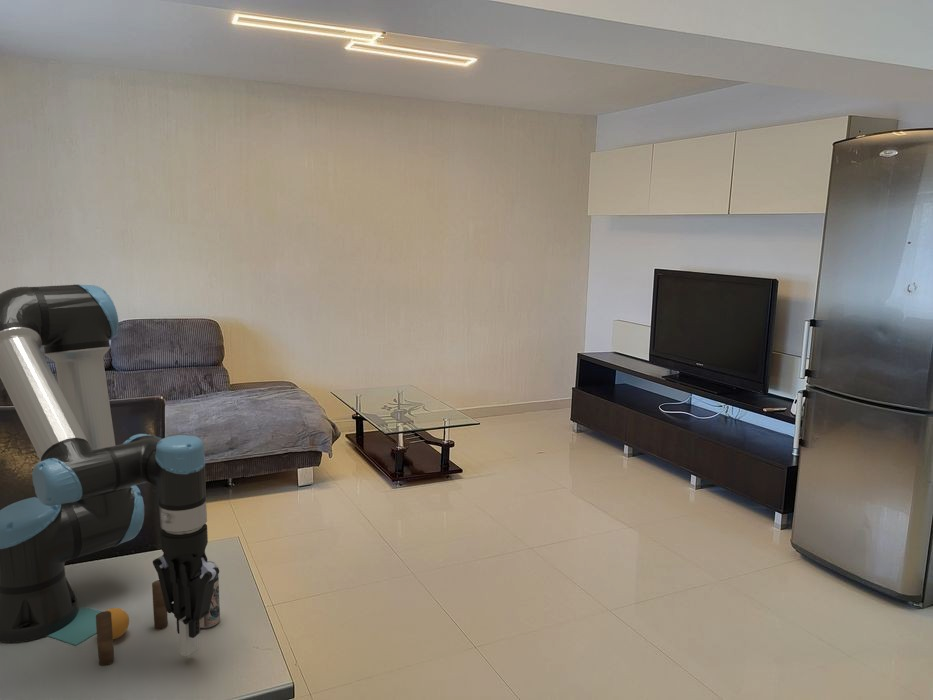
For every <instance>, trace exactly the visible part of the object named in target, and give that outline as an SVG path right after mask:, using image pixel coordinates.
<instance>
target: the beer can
mask: <svg viewBox="0 0 933 700" xmlns="http://www.w3.org/2000/svg"><path fill="white" fill-rule="evenodd" d="M207 563H208V564H209V565H210V566H211V567H212V568H215V567H217V568H218V569H219V566H218V565H217V564H216V562H215V561H211V560H207ZM219 579H220V576H219V574H218V575H217V577H216V578H215V582H214V588H213V593H212V599H211V604H210V610H209V614H208V615H206V616H205V617H203V618H202V619H200V620H199V623H200V626H199V627H200V628H201V629H208V628H212V627H214V626H216V625H217V624H218V623H219V622H220V621H221V611H220V609H221V608H220V586H219V585H220V584H219V583H220V582H219ZM200 581H201V580H200Z"/></svg>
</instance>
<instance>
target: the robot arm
mask: <svg viewBox="0 0 933 700" xmlns="http://www.w3.org/2000/svg"><path fill="white" fill-rule="evenodd" d="M119 322H120V321H119V316H118V312H117V308H116V306H115V304H114V301H113V300H112V297H111V296H110V295H109V294H108V293H107V292H106V290H105V289H103V288H102V287H100V286H98V285H95V284H80V283H78V284H75V283H74V284H62V285H47V286H17V287H13V288H10V289H7V290H5V291H2V292H1V293H0V380H1V382H2V384H3V387H4V389H5V390H6V392H7V395H8V396H9V398H10V400H11V403H12V405H13V407H14V409H15V411H16V413H17V415H18V418H19V420H20V421H21V423H22V425H23V427H24V429H25V432H26V434H27V436H28V438H29V440H30V442H31V444H32V446H33V448H34V450H35V452H36V455H37V457H38V458H39V460H40V461H38V462H37V463H36V464H35V465H34V466H33V469H32V475H31V476H32V477H31V478H32V485H33V487H34V492H35V496H33V497H28V498H25V499H22V500H19V501H16V502H13V503H11V504H8V505H7V506H5V507H3V508H1V509H0V642H1V643H22V642H28V641H34V640H37V639H38V640H39V639H40V638H43V637H48V636H47V635H50V634H52V633H54V632H57V631H59V630H60V629H62V628H64V627H65V626H67V625H68V624H70V623H71V622H72V621H73V620H74V619H75V618H76V616H77V614H78V610H79V606H78V605H79V604H78V598H77V596H76V595H75V592H74V590H73V588H72V587H71V584H70V583H69V580H68V577H66V567H65V563H66V562H67V561H70V560H71V561H72V560H74V559H76V558H81V557H84V556H86V555H89V554H92V553H96V552H99V551H103V550H105V549H106V550H107V549H109V548H111V547H112V548H115V547H118V546H120V545H121V544H123V543H127V542H129V541H132V540H133V539H135V537H137V536H138V534H139V533H140V531H141V529H142V527H143V524H144V520H145V503H144V497H143V496H142V495H141V490H140V488H139V487H138V485H141V484H146V483H149V484H151V485H153V486H154V487H155V486H156V487H157V493H158V509H159V527H160V528H161V530H160V534H159V535H160V538H159V539H160V548H161V551H162V552H163V553H162V555H161V556H159V557H157V558H155V559H153V560H152V565H153V567H154V569H155V571H156V573H157V577H158V580H159V581H160V586H161V590H162V594H163V598H164V603H165V607H166V611H167V614H171V613H172V614H173V615H174V616H173V617H174V618H175V619H176V632H177V634H178V636H179V649H180V650H179V653H180V655H181V656H184V657H189V655H191V654H192V653H194V652H195V651H196V650H198V649H199V638H198V637H199V634H200V633H201V629H200V627H199V626H200V623H199V620H200V619H202V618H203V617H205V616H206V615H208V614H209V610H210V604H211V599H212V593H213V588H214V582H215V578H216V577H217V575H218V576H219V574H220V568H219V567H218V568H217V567H215V568H212V567H211V566H210V565H209V564H208V563H207V561H208V557H207V554H206V548H207V546H208V541H209V540H208V539H209V537H208V535H209V534H208V525H207V524H206V523H207V522H208V513H207V510H208V509H207V497H206V496H207V493H206V492H207V491H206V490H207V489H206V485H207V483H206V478H207V477H206V461H207V460H206V455H205V447H204V442H203V440H202V439H201V438H200V437H198V436H195V435H188V434H178V435H171V436H167V437H164V438H161V437H159V436H156V435H152V434H148V433H147V434H146V433H137V434H134V435H132V436H130V437H129V438H128V439H127V440H125V441H123V443H121V444H117V445H116V440H115V433H114V432H115V431H114V426H113V420H112V418H113V417H112V413H111V411H112V410H111V406H110V405H111V404H110V403H111V402H110V397H109V391H108V383H107V382H108V381H107V377H106V376H107V375H106V371H105V369H106V368H105V362H104V356H105V355H106V354H107V352H108V351H109V350H110V348H111V345H110V341H111V340H113V339H115V337H117V335H118V332H119V326H120V325H119V324H120V323H119ZM41 347H43V349H44V354H43V353H42V350H41ZM44 355H45V356H46V357H47V358H49V359H50V360H51V361H53V362H54V364H55V369H56V377H55V375H54V374H53V372H52V370H51V368H50V365H49V364H48V362H47V359H46V358H45V356H44ZM56 378H57V379H56ZM200 580H201V581H200Z"/></svg>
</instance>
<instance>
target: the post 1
mask: <svg viewBox="0 0 933 700" xmlns="http://www.w3.org/2000/svg"><path fill="white" fill-rule="evenodd" d="M96 628H97V634H96V640H97V642H96V643H97V653H98V654H97V655H98V666H101V667H106V665H107V666H110V665H112V664H113V663H114V662H115V653H114V639H113V634H112V619H111V612H109V611H106V610H104V611H101V612H100V613H98V614H97V615H96Z"/></svg>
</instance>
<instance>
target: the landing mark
mask: <svg viewBox="0 0 933 700" xmlns="http://www.w3.org/2000/svg"><path fill="white" fill-rule="evenodd" d="M100 612H102V611H100V610H97V609H94V608H91V607H87V606H82V607H81V608H78V614H77V616H76V618H75V619H74V620H73V621H72V622H71V623H70V624H68V625H67V626H65V627H64V628H62V629H60V630H59V631H57V632H54V633H52V634H50V635H47V636H46V637H48V638H51V639H54V640H57V641H61V642H64V643H67V644H70V645H72V646H75V647H77V646H79V645H80V644H82V643H83V642H85V641H87V640H88V639H90V638H91V637H93V636H95V635H97V629H96V615H97V614H98V613H100Z"/></svg>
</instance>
